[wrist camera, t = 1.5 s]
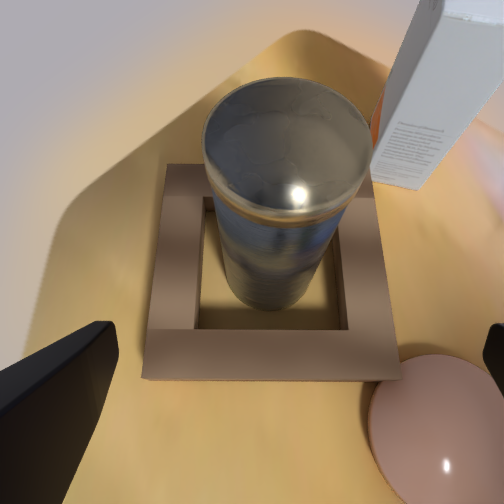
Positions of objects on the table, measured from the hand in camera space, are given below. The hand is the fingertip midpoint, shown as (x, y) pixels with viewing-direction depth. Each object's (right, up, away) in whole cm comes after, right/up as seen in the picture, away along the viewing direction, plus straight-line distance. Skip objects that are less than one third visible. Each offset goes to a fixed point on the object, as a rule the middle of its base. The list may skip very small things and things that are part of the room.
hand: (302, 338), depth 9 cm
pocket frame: (0, +1, +14) cm, 14 cm away
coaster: (+9, -8, +10) cm, 16 cm away
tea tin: (0, +1, +14) cm, 14 cm away
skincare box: (+9, +9, +18) cm, 22 cm away
